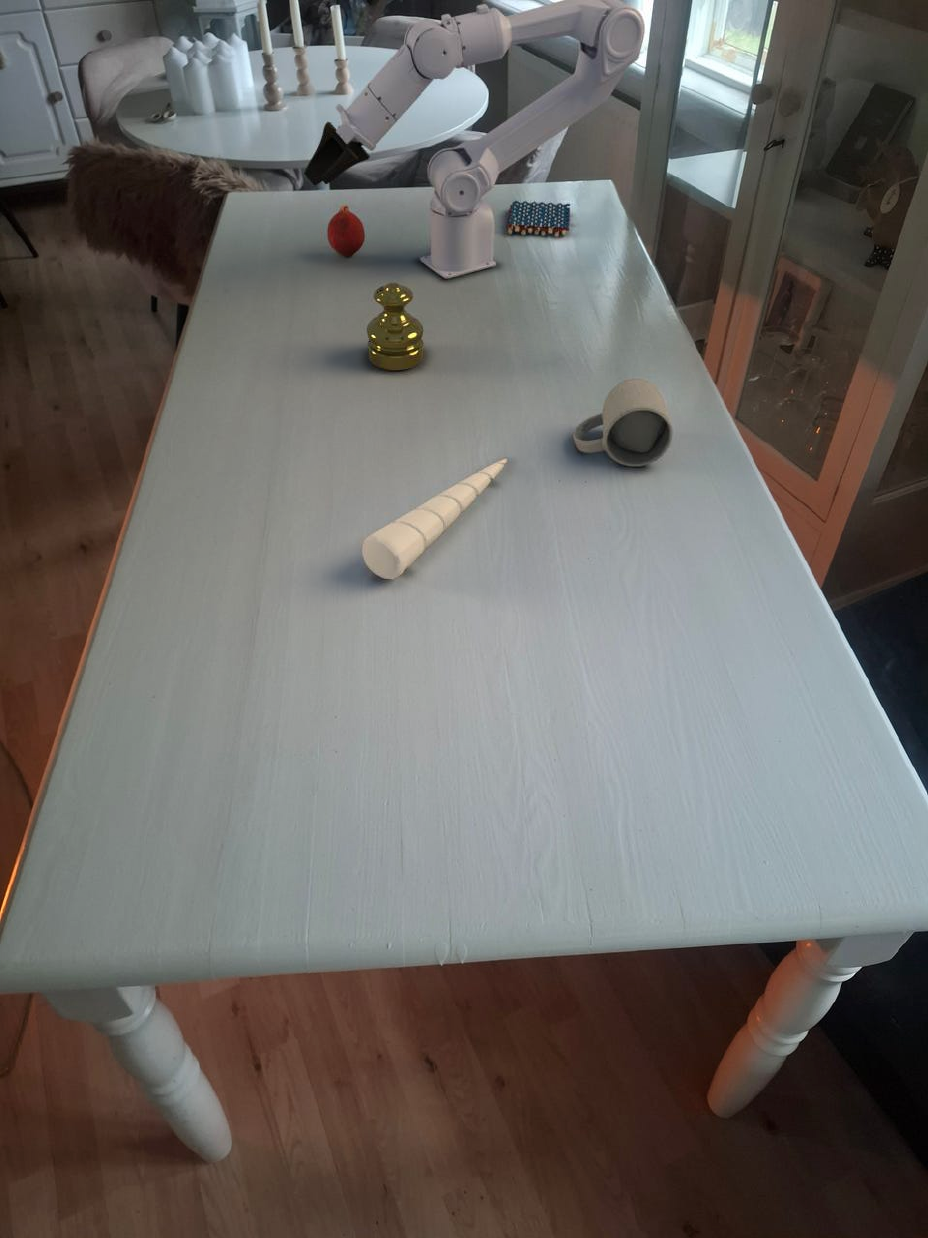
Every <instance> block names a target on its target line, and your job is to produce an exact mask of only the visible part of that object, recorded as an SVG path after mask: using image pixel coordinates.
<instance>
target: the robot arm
mask: <svg viewBox="0 0 928 1238" xmlns="http://www.w3.org/2000/svg"><path fill="white" fill-rule="evenodd" d="M645 31H646V27H645V20H644V18H643V15H642V14H641V12H640V11H639V10H638V9H637V8H635V7H634V6H631V5H628V4H626V3H625V2H623V1H622V0H560V1H555V2H552V3H548V4H545V5H541V6H538V7H534V8H531V9H528V10H524V11H521V12H517V13H513V14H510V15H506V16H505V15H504V14H503V13H502V12H501V11H500V10H499V9H498V8H496V7H491V8H489V6H488V5H487V4H486V3H483V4H478V5H477V6H476V11H474V12H469V13H464V14H460V15H455V16H451V14H450V13H446V14H442V15H441V20H440V22H438V21H435V20H434V19H432V18H425V19H424V18H423V19H420V20H419V21H416V23H414V24H413V23H410V25H409V26H408V28H407V29H406V31H405V35H404V38H403V39H404V40H403V44H402V45H401V47H400V48H399V49H398V50H397V51H396V52H395V53H394V55H393V56H392V57H390V58H389V59H388V61H387V62H386V63H385V64H384V65H383V66H382V67H381V69H380V70H379V71H378V72H377V73H376V74H375V76H373V78H372V79H371V80H370V81H369V83H368V84H367V85H366V86H365V87H364V88H363V90H362V91H361V92H360V93H359V94H358V95H357V96H356V98H355V99H354V100H353V101H352V102H351V103H350V104H349V106H348V107H347V108H346V109H345V107H344V106H343V105H342V104H341V103H338V104H336V106H335V109H336V111H337V112H338V113H339V115H340V119H341V122H342V123H341V125H339V126H338V127H337V128H336V127H335V126H334V124H333V123H332V122H330V121H326V123H325V124H324V127H323V129H322V133H321V134H322V135H321V138H320V140H319V143H318V145H317V148H316V150H315V151H314V153H313V155H312V157H311V158H310V160H309V162H308V164H307V166H306V168H305V170H304V172H303V174H304V176H305V177H306V178H307V179H308V180H309V182H311V184H312V185H313V186H317V185H319V184H320V183H322V182H323V183H324V184H325V185H328V184H329V183H332V182H333V181H334V180H336V179H337V178H338V177H340V175H342V174H344V173H345V172H346V171H348V170H349V169H351V168H352V167H354V166H356V165H358V164H361V163H362V162H365V161H368V160H369V159H370V158H371V156H370V154H369V153H368V151H366V150H365V148H366V149H368V150H369V151H371V152H373V151H374V150H375V149H376V148H377V144H378V143H379V142H380V141H381V140H382V139H383V137H384V136H385V135H386V134H387V133H388V132H389V131H390V130H391V128H392V127H393V126H395V124H397V122H398V121H399V119H401V118H402V117H403V115H404V114H405V113H406V112H407V111H408V110H409V109H410V108H411V106H412V105H413V104H414V103H415V102H416V101H417V100H418V99H419V98H420V97H421V95H422V94H423V92H425V90H426V89H427V88H428V87H429V86H430V85H431V83H433V81H434V80H445V79H446V78H447V77H449V76H450V75H451V74H452V73H453V71H454V70H455V69H462V68H466V67H470V66H474V65H478V64H483V63H488V62H492V61H496V60H501V59H503V57H504V56H505V54H506V53H507V52H508V51H509V49H510V48H511V46H515V45H521V44H522V45H523V44H526V43H532V42H539V41H544V40H550V39H556V38H560V37H561V38H563V37H570V38H571V39H574V40H576V41H578V47H579V48H578V50H579V52H578V57H577V61H576V66H575V70H574V73H572V75H570V76H569V77H567V78H566V79H565V80H563V81H561V82H560V83H559V84H557V85H555V86H554V87H553V88H551V89H550V90H548V91H547V92H546V93H544V94H543V95H541V96H540V97H538V98H537V99H535V100H533V101H532V102H531V103H530V104H528V105H527V106H525V107H524V108H522V109H521V110H520V111H518V112H517V113H515V114H514V115H512V116H510V117H509V118H508V119H506V120H505V121H503V122H502V123H501V124H499V125H498V126H497V127H496V126H495V128H493V129H492V130H490V131H489V132H488V133H486V134H485V135H483V136H482V137H480V138H477V139H469V140H465V141H463V142H461V143H460V144H458V145H456V146H454V147H446V148H445V147H444V148H442V149H439V150H437V152H435V153H434V154H433V155H432V157H431V159H430V161H428V162H429V163H428V166H427V179H428V182H429V183H430V185H431V186H432V188H433V189H434V192H433V195H432V197H431V199H430V202H429V206H430V207H429V211H430V220H429V221H430V223H429V224H430V254H428V255H424V256H420V258H419V260H420V262H421V263H423V264H424V265H425V266H427V267H428V268H429V269H431V270H432V271H433V272H435V273H436V274H438V275H439V276H440V277H442V278H443V279H445V280H448V279H453V278H456V277H460V276H463V275H467V274H472V273H475V272H478V271H482V270H485V269H488V268H493V267H496V265H497V263H496V261H495V260H494V247H495V216H494V213H493V210H492V208H491V206H490V204H489V203H488V202H487V201H485V200H484V199H482V198H483V197H484V196H485V195H486V194H487V193H489V192H490V191H491V190H492V189H494V186H495V184H496V182H497V180H498V177H499V175H500V174H501V173H502V172H504V171H506V170H507V169H508V168H510V167H511V166H512V165H514V164H516V163H517V162H519V161H520V160H521V159H523V158H525V157H526V156H528V155H529V154H530V153H532V152H534V151H535V150H536V149H537V148H539V147H540V146H542V145H543V144H545V143H546V142H548V141H549V140H551V139H552V138H554V137H555V136H557V135H558V134H559V133H562V132H563V131H564V130H566V129H567V128H569V127H570V126H572V125H573V124H575V123H576V122H578V121H579V120H580V119H582V118H584V117H585V116H586V115H588V114H589V113H591V112H592V111H594V110H595V109H597V108H598V107H600V106H601V105H602V104H604V103H605V102H606V101H607V100H608V99H609V98H610V96H611V94H612V93H613V91H614V89H615V88H616V86H617V85H618V84H619V82H620V80H621V78H622V77H623V76H624V75H625V72H626V71H627V69H628V68H629V67H630V66H632V65H633V63H635V62H636V61H638V60H639V59H640V55H641V50H642V47H643V43H644V38H645V33H646V32H645ZM364 147H365V148H364Z"/></svg>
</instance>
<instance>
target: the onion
mask: <svg viewBox="0 0 928 1238" xmlns="http://www.w3.org/2000/svg"><path fill="white" fill-rule="evenodd" d="M349 209H350V206H349V205H347V204H342V205H341V206H340V209H339V211H337V213H335V214H334V215H333V216H332V217H331V219H330V220H329V222H328V224H327V230H326V231H327V233H326V234H327V236H326V237H327V241H328V243H329V245H330V247H331V248H332V250H334V251H335V253H337V254H339V255H340V256H342V257H344V258H346V259H350V258H352V257H353V256H354V255H355V254H357V252H358V251H359V250H360V249H361V248H362V247H363V245H364V242H365V240H366V239H365V238H366V233H365V229H364V225H363V223H362V221H361V219H360V218H359V216H357V215H356V214H355V213H354V212H352V211H350V210H349Z"/></svg>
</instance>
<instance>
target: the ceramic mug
mask: <svg viewBox="0 0 928 1238" xmlns="http://www.w3.org/2000/svg"><path fill="white" fill-rule="evenodd" d="M669 415H670V414H669V412H668V409H667V406H666V403H665V398H664V397H663V394H662V393H661V392H660V391H659V389H658V388H657V387H656V386H655V385H654V384H653V383H651V382H649V381H647V380H643V379H640V378H639V379H637V378H635V379H633V378H632V379H627V380H624V381H621V382H620V383H618V384H616V385H615V386H614V387H613V388H611V390H609V392H608V394H607V395H606V397H605V399H604V402H603V407H602V411H601V413H597V414H594V415H592V416H590V417H588V418H586V419H584V420H582V421H581V422H580V423H579V424H578V425H577V426H576V427H575V429H574V431H573V442H574V443H575V446H576V449H577V450H579V451H580V452H582V453H586V454H594V453H600V452H603V451H604V452H605V451H606V454H607V455H608V456H609V457H610V458H611V460H613V461H614V462H615V463H618V464H619V465H623V466H625V467H632V468H633V467H634V468H635V467H644V466H647V465H650V464H652V463H655V462H656V461H658V460H659V459H661V458H662V457H663V456H664V455H665V453H666V452H667V451H668V449H669V448H670V446H671V443H672V439H673V434H674V431H673V430H674V429H673V424H672V421H671V419H670V416H669ZM600 426H602V437H601V438H599V439H592V440H583V438H584V437H585V434H587V433H588V432H589V431H591V430H593V429H595V428H598V427H600Z"/></svg>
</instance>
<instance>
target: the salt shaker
mask: <svg viewBox="0 0 928 1238" xmlns="http://www.w3.org/2000/svg"><path fill="white" fill-rule="evenodd" d="M413 298H414V293H413V291H412V289H410V288H409V287H408V286H405V285H403V284H400V283H397V282H389V283H387V284H384V285H382V286H380V287H378V288H376V290H375V291H374V292H373V299H374V301H375V302H376V303H377V304H378V305H381V307H382V308H383V311H382V312H380V313H378V315H377V316H376V317H374V318H373V319H371V320H370V321H369V323H368V324H367V327H366V335H367V338H368V341H367V347H368V358H369V361H370V362H371V363H372V364H373V365H374V366H375V367H377V368H380V369H382V370H385V371H404V370H410V369H412V368H414V367H417V366H418V365H419V364H420V363H421V362H422V360H423V359H424V340H423V336H424V325H423V324H422V323H421V322H420V320H419V319H418V318H416V317H414V316H412V315H411V314H410V313H408V312H407V310H405V308H406V306H407V305H408V304H409V303H410V302H411V301H413Z"/></svg>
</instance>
